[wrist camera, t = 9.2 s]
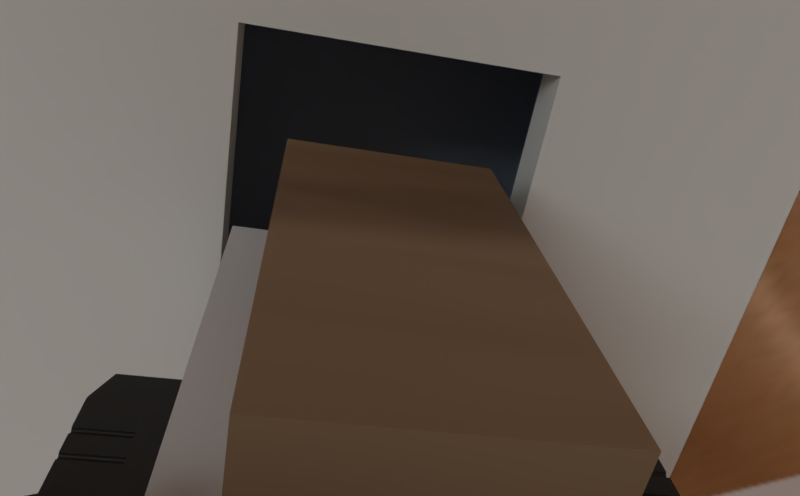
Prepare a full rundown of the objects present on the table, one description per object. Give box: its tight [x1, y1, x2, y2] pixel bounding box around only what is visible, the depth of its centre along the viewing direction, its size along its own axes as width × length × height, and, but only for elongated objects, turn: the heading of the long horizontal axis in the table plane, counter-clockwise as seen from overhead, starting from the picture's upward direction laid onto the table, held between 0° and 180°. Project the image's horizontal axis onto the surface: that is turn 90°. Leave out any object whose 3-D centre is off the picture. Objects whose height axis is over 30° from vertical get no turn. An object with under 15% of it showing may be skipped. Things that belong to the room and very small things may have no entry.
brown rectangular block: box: [222, 139, 661, 496], centre depth 10 cm, size 6×4×7 cm, turn 170°
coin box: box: [0, 0, 800, 496], centre depth 18 cm, size 16×16×10 cm
